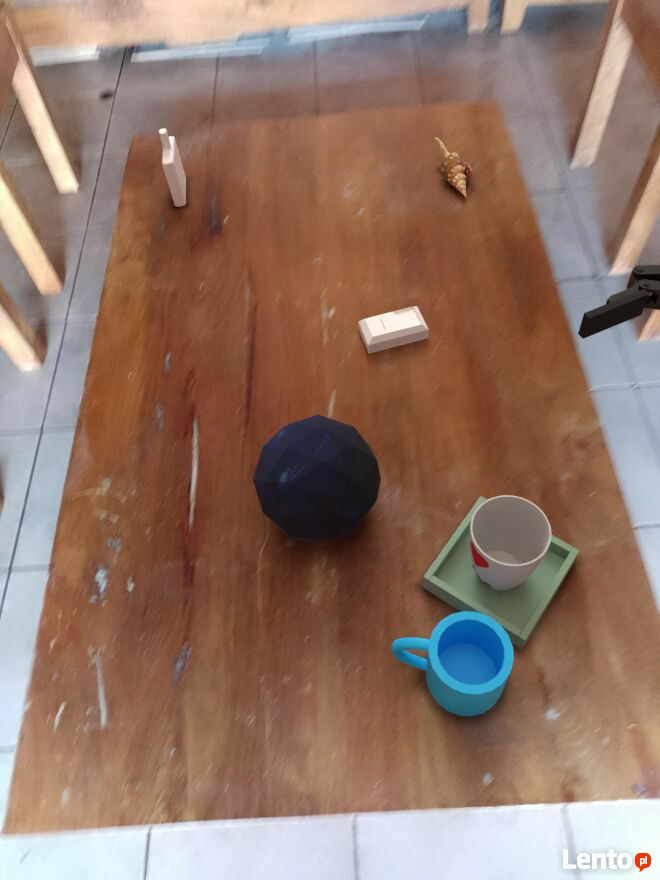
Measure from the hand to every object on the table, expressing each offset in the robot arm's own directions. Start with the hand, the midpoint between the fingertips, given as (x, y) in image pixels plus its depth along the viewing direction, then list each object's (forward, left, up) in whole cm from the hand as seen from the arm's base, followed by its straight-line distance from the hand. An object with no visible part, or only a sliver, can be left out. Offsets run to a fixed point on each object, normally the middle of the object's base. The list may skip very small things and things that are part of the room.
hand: (629, 377), depth 62 cm
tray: (+4, +10, -28) cm, 30 cm away
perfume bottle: (+86, -23, -28) cm, 93 cm away
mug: (+3, +23, -28) cm, 36 cm away
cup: (+4, +10, -27) cm, 29 cm away
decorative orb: (+26, +14, -28) cm, 41 cm away
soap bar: (+35, -15, -28) cm, 47 cm away
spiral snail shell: (+47, -51, -28) cm, 75 cm away
